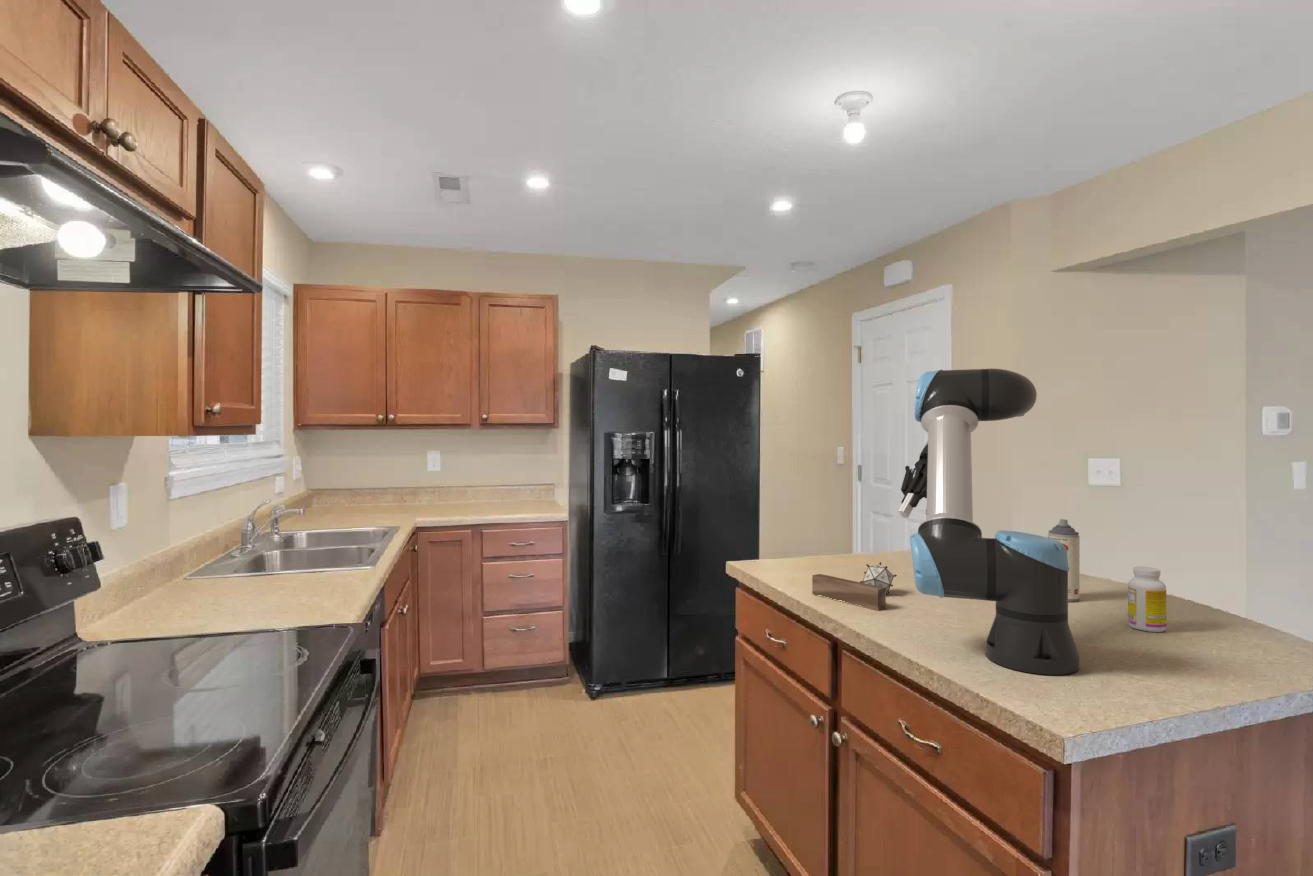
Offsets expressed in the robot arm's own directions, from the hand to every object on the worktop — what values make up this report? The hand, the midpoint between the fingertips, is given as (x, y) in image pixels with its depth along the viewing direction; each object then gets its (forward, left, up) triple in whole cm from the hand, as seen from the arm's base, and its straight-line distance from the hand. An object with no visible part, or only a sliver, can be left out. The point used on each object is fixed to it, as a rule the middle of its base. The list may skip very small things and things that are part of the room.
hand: (903, 514), depth 181 cm
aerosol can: (+22, -31, -20) cm, 43 cm away
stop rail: (-24, 0, -20) cm, 31 cm away
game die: (-11, 0, -20) cm, 23 cm away
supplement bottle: (+9, -53, -20) cm, 57 cm away
